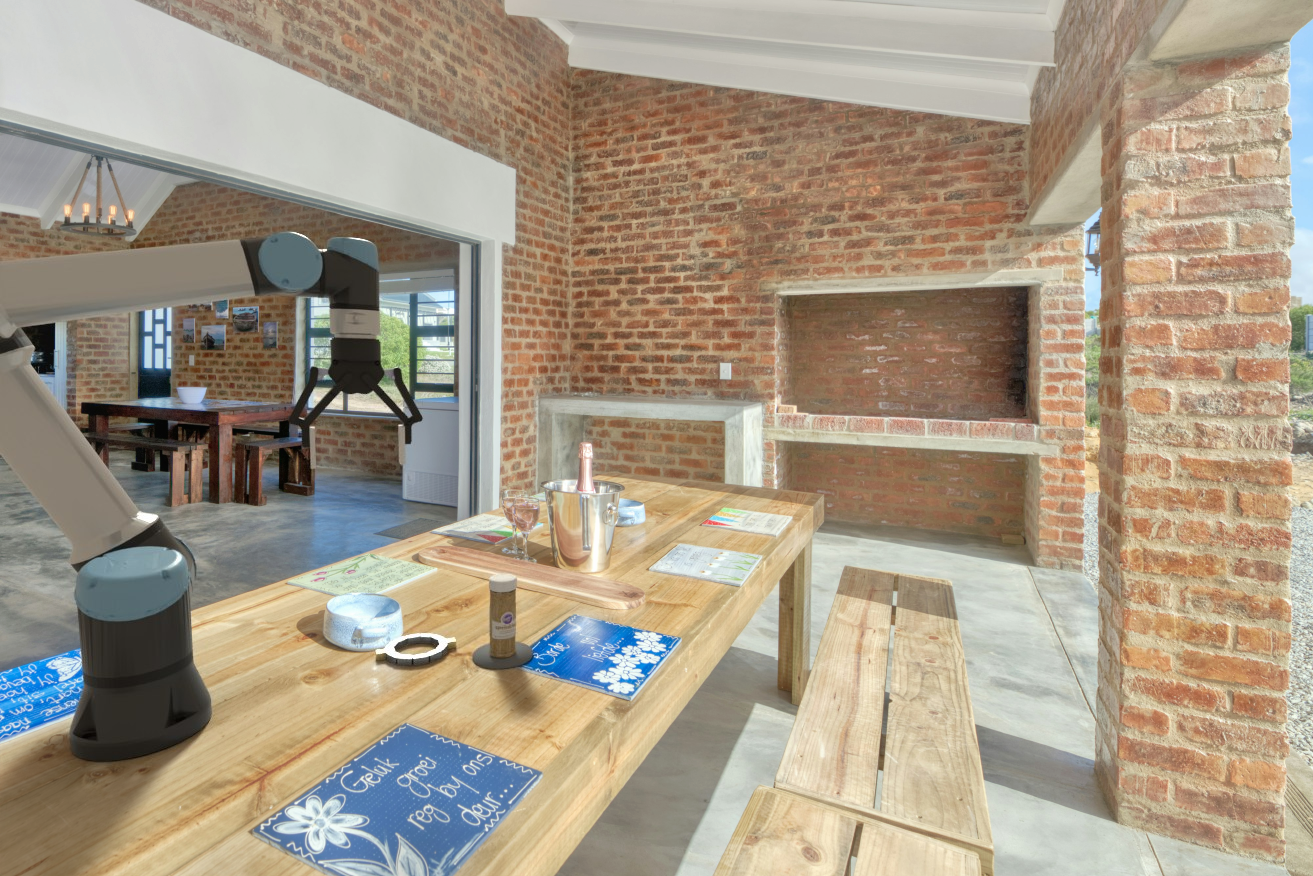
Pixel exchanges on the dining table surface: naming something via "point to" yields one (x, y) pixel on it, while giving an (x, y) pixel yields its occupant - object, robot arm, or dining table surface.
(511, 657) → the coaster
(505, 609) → the sprinkles bottle
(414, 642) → the collar
